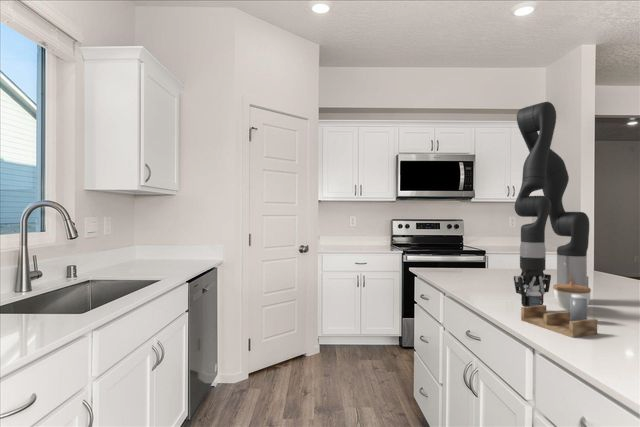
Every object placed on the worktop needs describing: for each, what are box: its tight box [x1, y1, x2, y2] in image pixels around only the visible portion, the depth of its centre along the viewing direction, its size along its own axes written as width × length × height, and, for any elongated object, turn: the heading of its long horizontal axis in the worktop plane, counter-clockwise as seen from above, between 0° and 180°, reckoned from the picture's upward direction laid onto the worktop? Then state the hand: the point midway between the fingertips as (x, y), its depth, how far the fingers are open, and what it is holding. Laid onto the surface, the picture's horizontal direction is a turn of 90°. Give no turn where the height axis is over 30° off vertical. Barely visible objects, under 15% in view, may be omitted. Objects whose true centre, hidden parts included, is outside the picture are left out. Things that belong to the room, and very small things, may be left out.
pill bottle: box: [525, 285, 542, 306], centre depth 128 cm, size 5×5×9 cm
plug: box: [569, 294, 588, 321], centre depth 117 cm, size 4×4×8 cm
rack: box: [520, 304, 598, 338], centre depth 112 cm, size 9×17×4 cm, turn 18°
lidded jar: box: [552, 282, 592, 312], centre depth 131 cm, size 11×11×9 cm
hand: (532, 305), depth 128 cm, fingers closed on pill bottle, 5 cm apart
